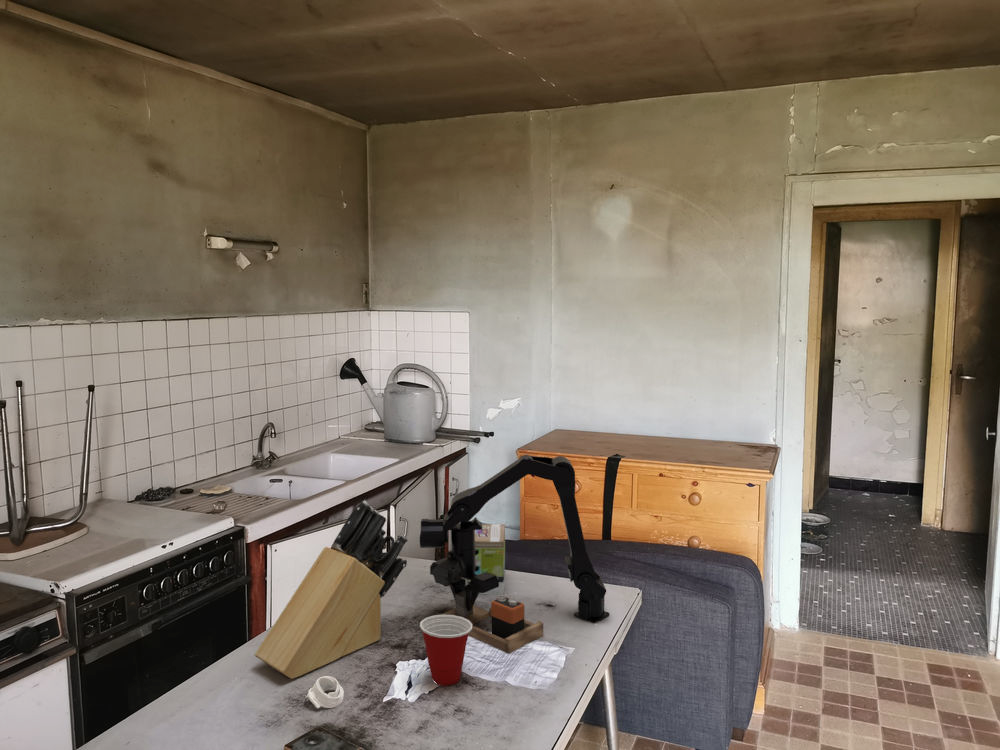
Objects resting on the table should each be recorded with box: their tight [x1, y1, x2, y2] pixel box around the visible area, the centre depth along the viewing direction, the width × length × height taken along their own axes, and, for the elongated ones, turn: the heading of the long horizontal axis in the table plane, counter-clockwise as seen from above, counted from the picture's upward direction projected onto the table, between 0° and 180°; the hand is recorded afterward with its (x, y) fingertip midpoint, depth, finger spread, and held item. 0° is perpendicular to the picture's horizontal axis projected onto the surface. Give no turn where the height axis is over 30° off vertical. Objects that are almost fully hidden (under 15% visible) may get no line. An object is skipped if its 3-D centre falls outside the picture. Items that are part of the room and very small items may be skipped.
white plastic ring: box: [303, 675, 345, 709], centre depth 148 cm, size 8×7×5 cm
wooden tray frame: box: [440, 591, 544, 654], centre depth 178 cm, size 12×24×6 cm, turn 46°
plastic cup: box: [419, 614, 473, 687], centre depth 156 cm, size 11×11×12 cm
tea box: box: [466, 523, 506, 595], centre depth 205 cm, size 15×10×15 cm
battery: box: [490, 595, 525, 639], centre depth 172 cm, size 4×7×10 cm, turn 47°
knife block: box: [254, 500, 408, 679], centre depth 169 cm, size 11×35×31 cm, turn 138°
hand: (464, 608), depth 184 cm, fingers closed on wooden tray frame, 3 cm apart
